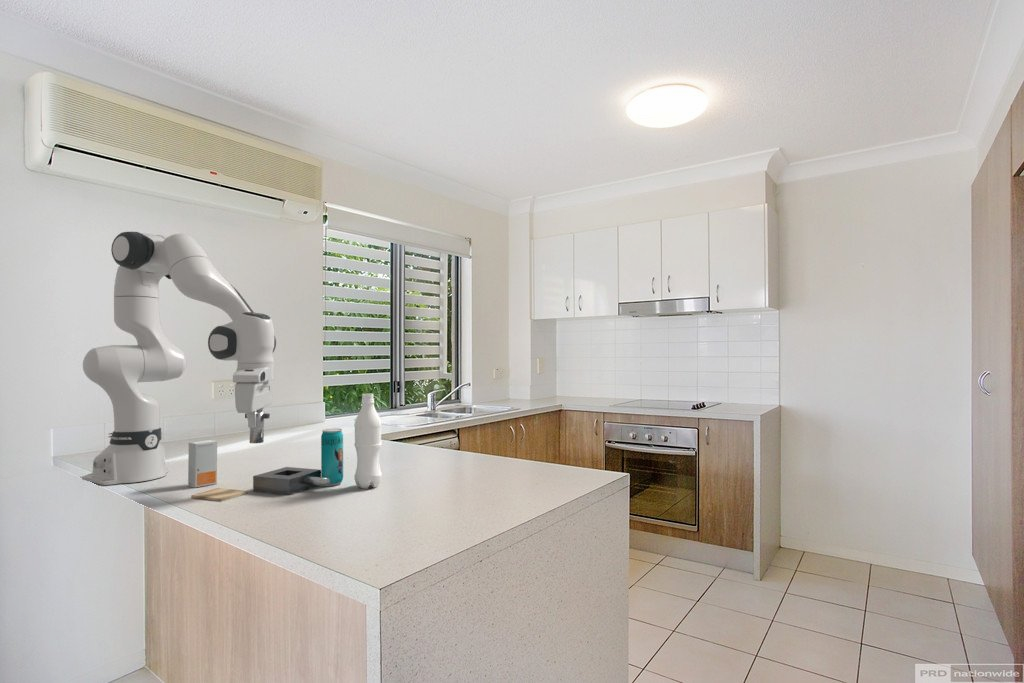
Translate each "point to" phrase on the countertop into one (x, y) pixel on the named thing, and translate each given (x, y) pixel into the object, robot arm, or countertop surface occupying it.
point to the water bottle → (367, 444)
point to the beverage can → (332, 455)
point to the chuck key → (258, 428)
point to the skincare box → (202, 463)
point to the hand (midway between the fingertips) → (255, 426)
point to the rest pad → (219, 494)
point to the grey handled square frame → (288, 480)
